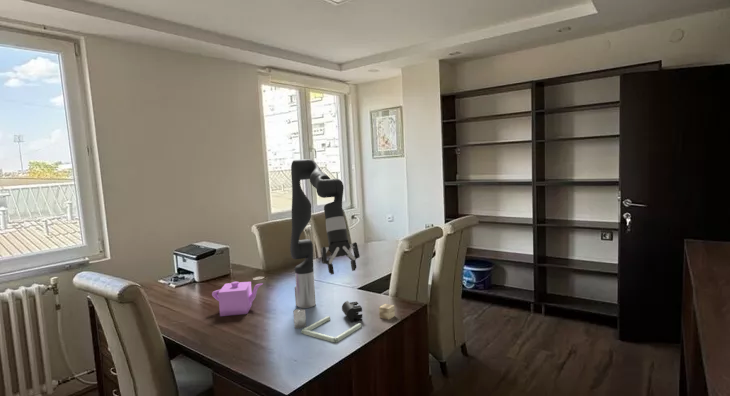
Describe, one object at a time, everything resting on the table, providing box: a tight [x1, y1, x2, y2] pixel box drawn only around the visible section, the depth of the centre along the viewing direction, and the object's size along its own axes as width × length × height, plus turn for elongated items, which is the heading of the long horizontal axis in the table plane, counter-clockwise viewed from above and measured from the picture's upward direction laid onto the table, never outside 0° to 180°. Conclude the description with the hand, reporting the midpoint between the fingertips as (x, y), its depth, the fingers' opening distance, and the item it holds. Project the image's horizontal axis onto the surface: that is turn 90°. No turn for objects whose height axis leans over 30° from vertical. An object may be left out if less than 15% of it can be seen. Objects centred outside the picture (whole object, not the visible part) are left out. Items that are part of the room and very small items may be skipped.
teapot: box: [211, 281, 263, 317], centre depth 199 cm, size 15×25×14 cm, turn 97°
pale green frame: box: [301, 315, 362, 344], centre depth 168 cm, size 18×17×2 cm
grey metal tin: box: [293, 308, 307, 330], centre depth 174 cm, size 5×5×7 cm
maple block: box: [378, 303, 396, 320], centre depth 180 cm, size 5×5×5 cm
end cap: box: [341, 300, 363, 323], centre depth 180 cm, size 10×7×7 cm
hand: (343, 272), depth 149 cm, fingers open, 8 cm apart
